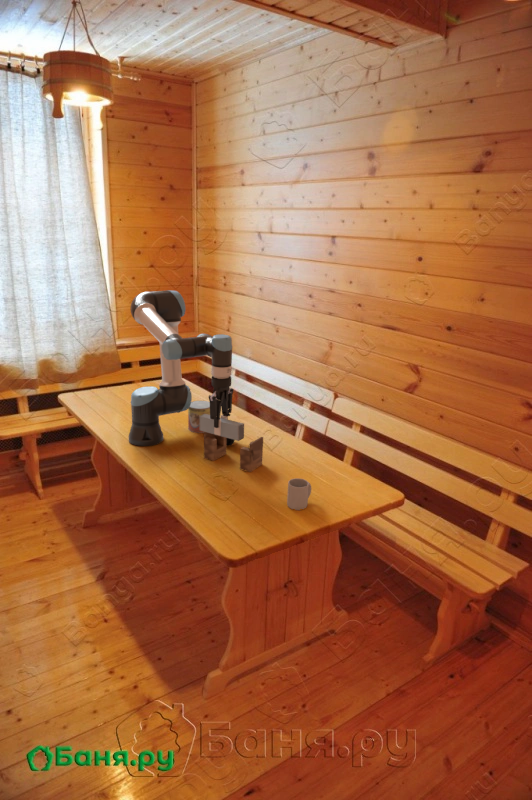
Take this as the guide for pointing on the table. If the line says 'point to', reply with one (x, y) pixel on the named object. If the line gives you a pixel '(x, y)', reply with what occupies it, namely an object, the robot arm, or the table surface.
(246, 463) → the post foot
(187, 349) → the robot arm
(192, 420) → the canned food
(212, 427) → the rail
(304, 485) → the cup
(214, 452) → the post head
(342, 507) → the table surface
